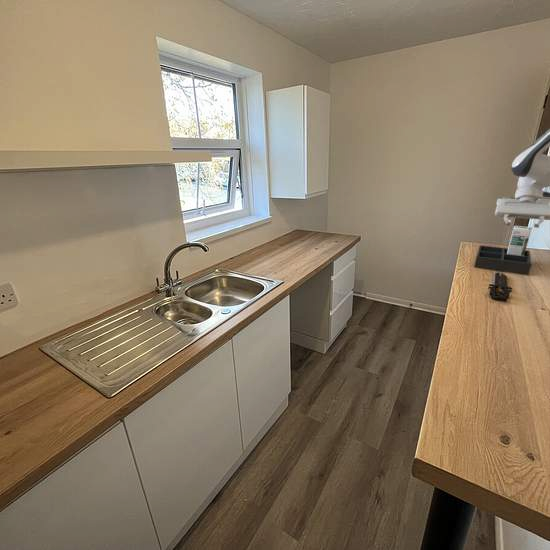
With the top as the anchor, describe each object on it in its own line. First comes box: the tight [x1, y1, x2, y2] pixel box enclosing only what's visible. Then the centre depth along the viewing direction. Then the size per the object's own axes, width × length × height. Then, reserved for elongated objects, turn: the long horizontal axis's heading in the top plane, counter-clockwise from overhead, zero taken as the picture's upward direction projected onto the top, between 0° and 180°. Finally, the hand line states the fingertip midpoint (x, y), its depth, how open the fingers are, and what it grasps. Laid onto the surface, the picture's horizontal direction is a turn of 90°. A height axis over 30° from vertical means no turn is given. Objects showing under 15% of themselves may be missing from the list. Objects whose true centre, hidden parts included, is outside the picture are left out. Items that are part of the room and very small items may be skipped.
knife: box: [488, 271, 513, 302], centre depth 105 cm, size 25×6×1 cm, turn 140°
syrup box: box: [507, 225, 533, 256], centre depth 122 cm, size 6×6×14 cm
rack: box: [473, 244, 532, 276], centre depth 123 cm, size 17×17×5 cm
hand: (521, 225), depth 124 cm, fingers open, 8 cm apart
